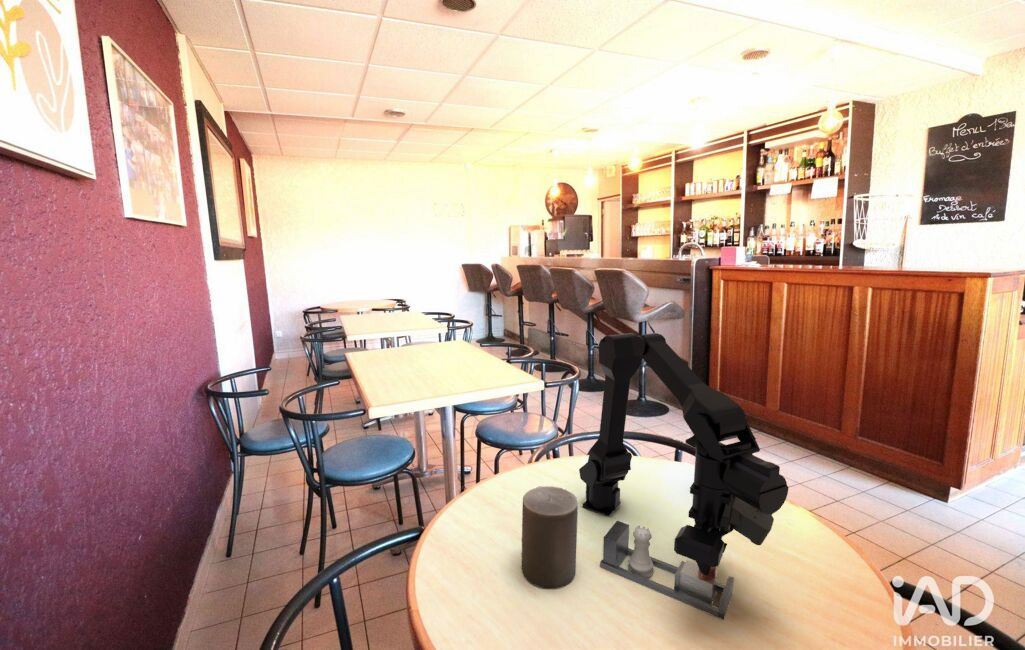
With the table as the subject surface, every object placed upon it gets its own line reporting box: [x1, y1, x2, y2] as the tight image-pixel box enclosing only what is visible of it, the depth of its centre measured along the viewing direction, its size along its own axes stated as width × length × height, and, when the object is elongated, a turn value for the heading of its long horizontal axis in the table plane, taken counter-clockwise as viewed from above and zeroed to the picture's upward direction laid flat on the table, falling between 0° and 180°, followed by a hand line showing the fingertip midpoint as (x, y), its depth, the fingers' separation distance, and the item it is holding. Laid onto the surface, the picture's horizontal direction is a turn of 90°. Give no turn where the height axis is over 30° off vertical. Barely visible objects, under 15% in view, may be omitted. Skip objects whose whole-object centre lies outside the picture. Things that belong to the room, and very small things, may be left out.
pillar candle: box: [521, 485, 579, 590], centre depth 83 cm, size 10×10×15 cm
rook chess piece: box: [627, 525, 655, 579], centre depth 83 cm, size 4×4×8 cm
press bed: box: [599, 520, 735, 621], centre depth 81 cm, size 21×7×6 cm, turn 55°
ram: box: [673, 559, 719, 606], centre depth 77 cm, size 6×4×10 cm
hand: (707, 568), depth 76 cm, fingers closed on ram, 3 cm apart
